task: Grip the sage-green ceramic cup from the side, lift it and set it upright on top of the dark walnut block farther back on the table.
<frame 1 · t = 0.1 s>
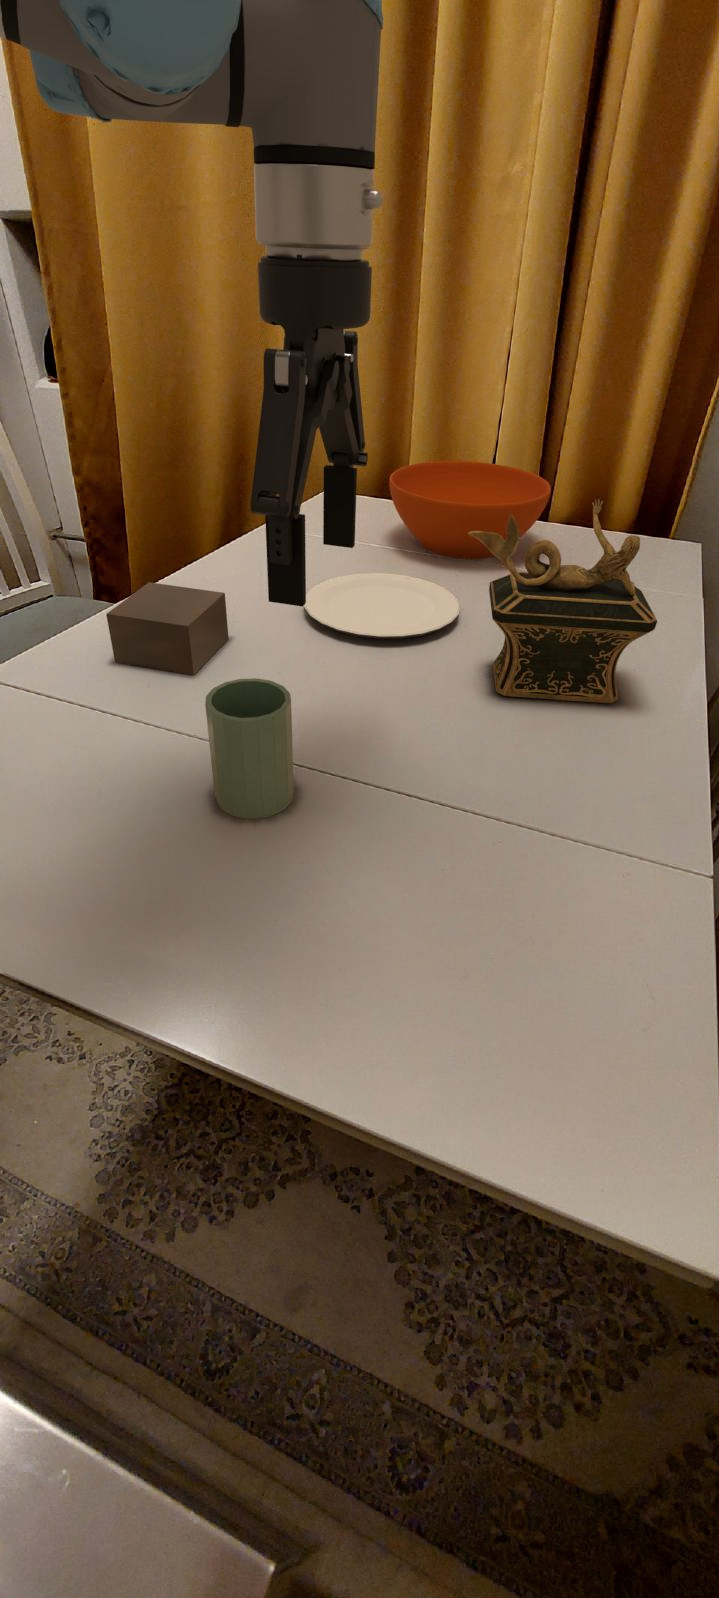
hand: (315, 571, 62), 19 cm above the table, tool pointing down, fingers open, 13 cm apart
cup: (254, 794, 69), on the table
plate: (381, 614, 102), on the table
decorative box: (538, 683, 88), on the table
bowl: (462, 545, 125), on the table
block: (173, 650, 91), on the table
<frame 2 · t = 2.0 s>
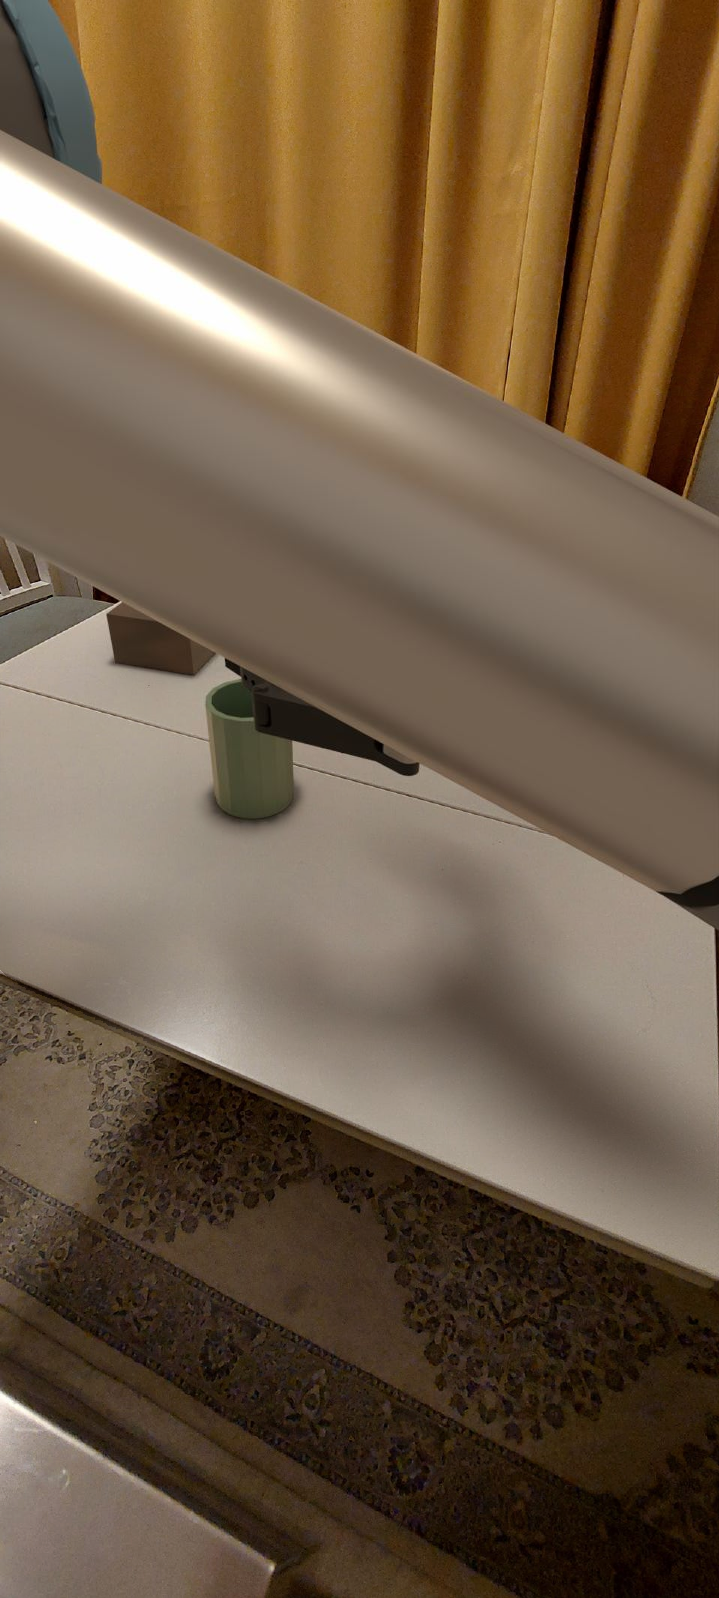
hand: (314, 617, 51), 20 cm above the table, tool horizontal, fingers open, 13 cm apart
nothing on the table moved.
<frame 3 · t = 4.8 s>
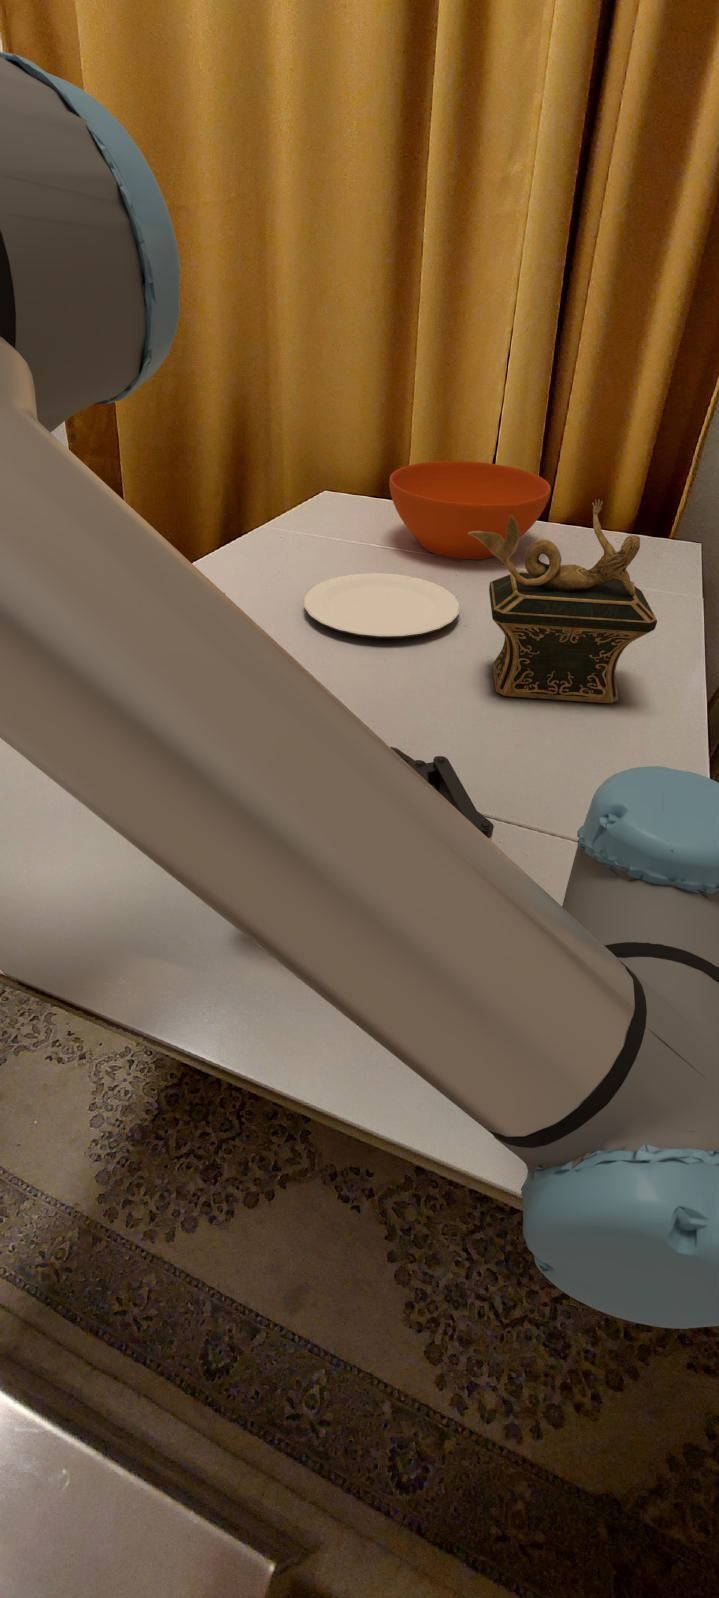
hand: (288, 768, 62), 6 cm above the table, tool horizontal, fingers open, 13 cm apart
nothing on the table moved.
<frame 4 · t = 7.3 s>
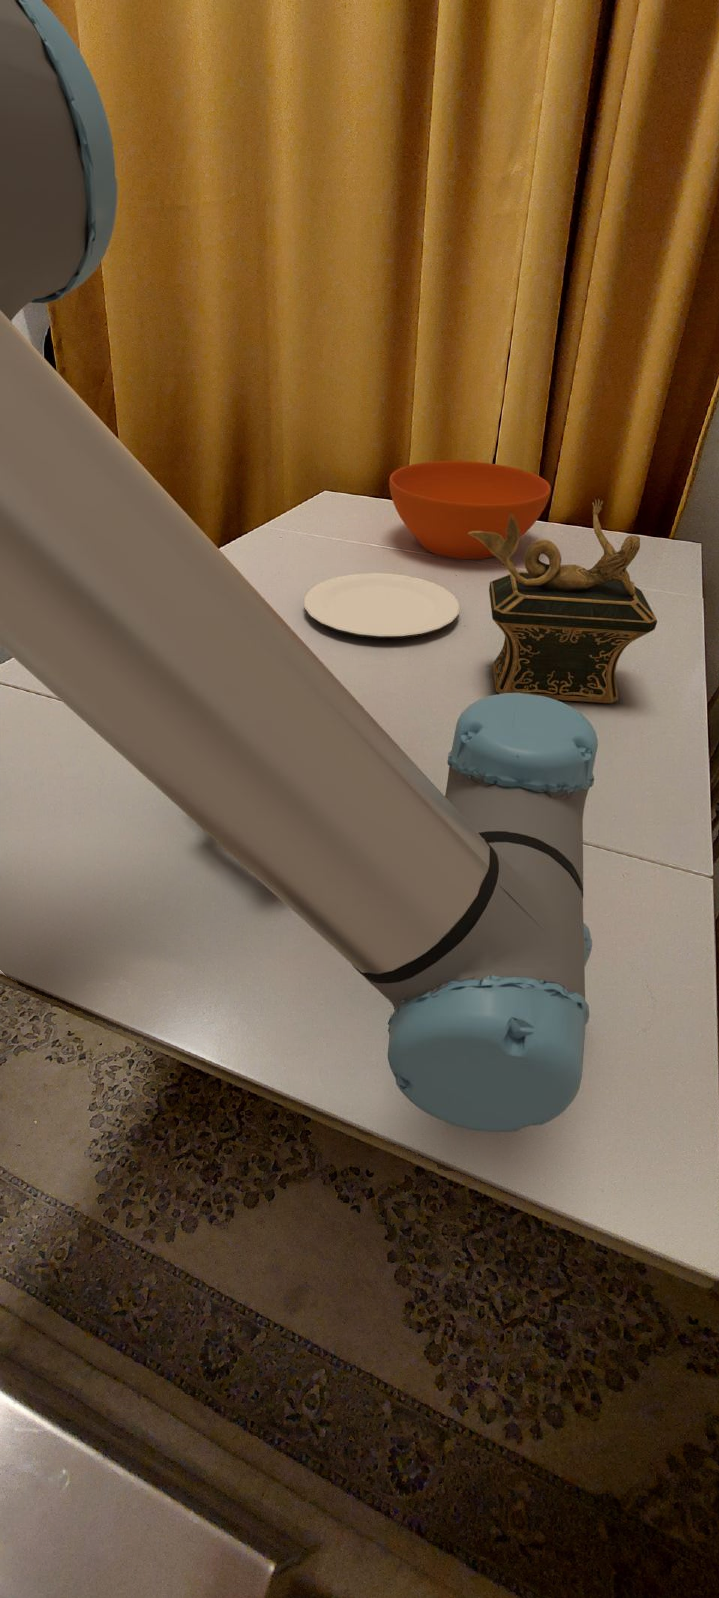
hand: (221, 715, 68), 6 cm above the table, tool horizontal, fingers closed on cup, 7 cm apart
cup: (254, 794, 69), on the table, touching gripper
everything else where it was.
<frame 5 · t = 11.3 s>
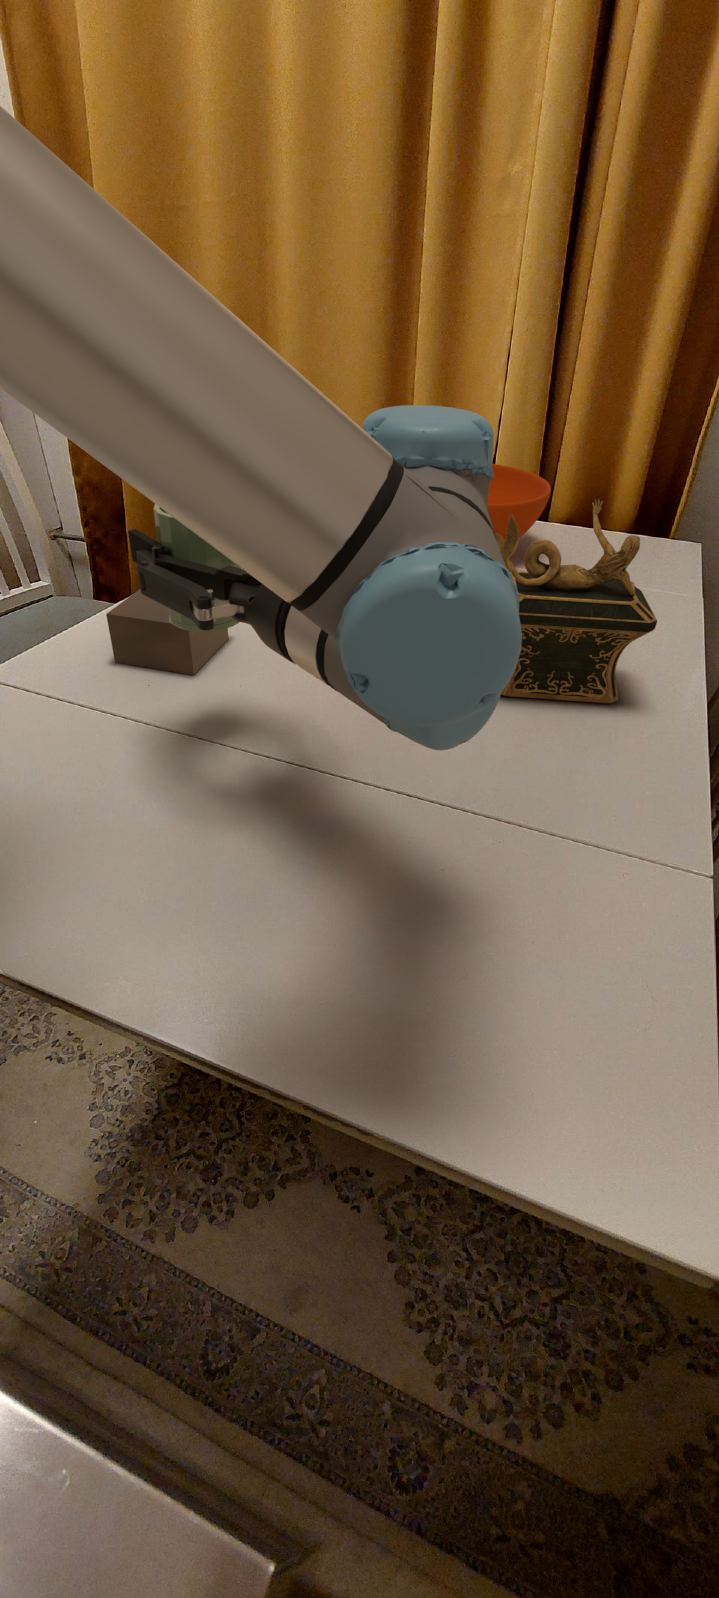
hand: (173, 536, 70), 18 cm above the table, tool horizontal, fingers closed on cup, 7 cm apart
cup: (206, 615, 71), point 12 cm above the table, touching gripper
everything else where it was.
when the fingers open (12 cm above the table, at t = 15.7 s): cup stays where it is, resting on block.
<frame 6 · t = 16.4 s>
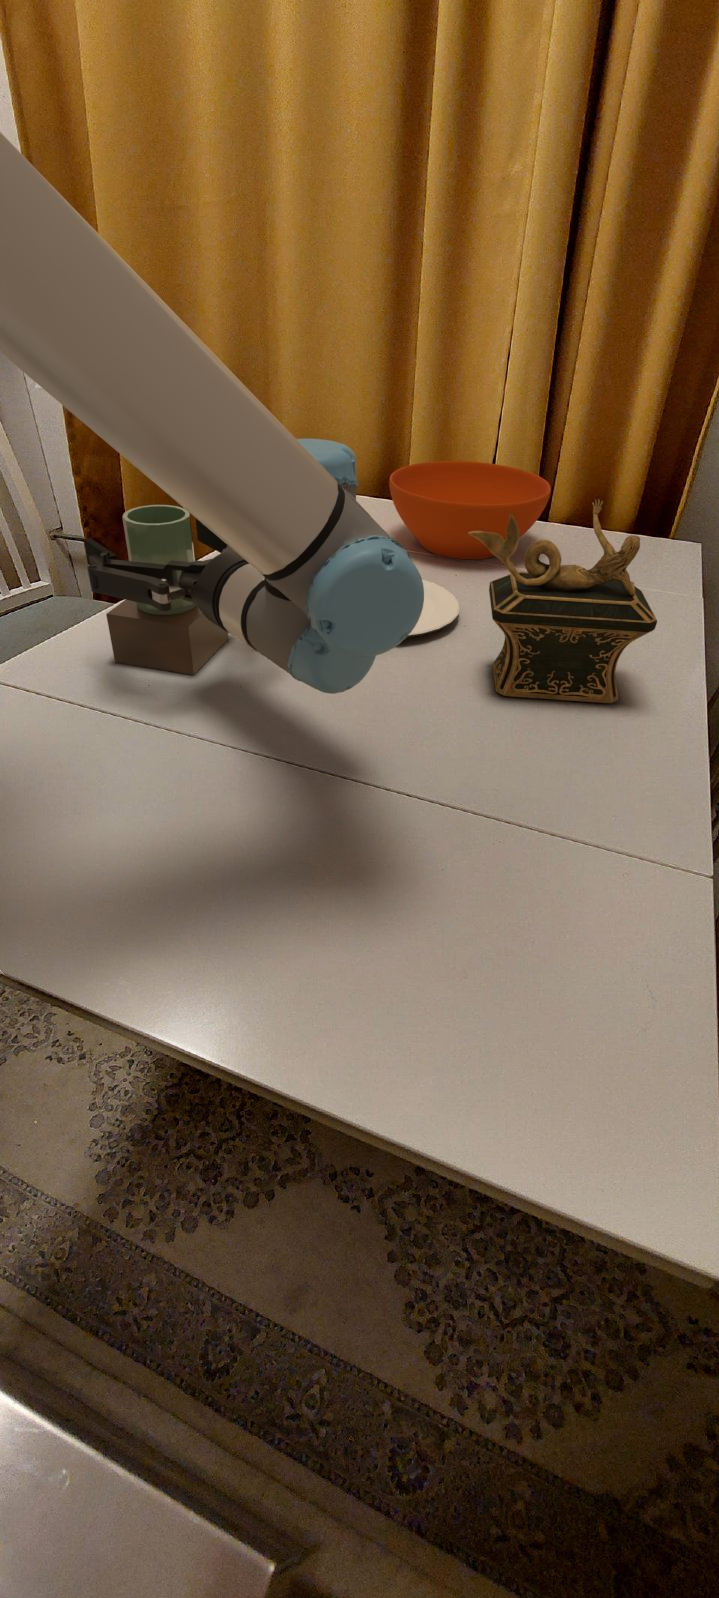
hand: (146, 538, 86), 12 cm above the table, tool horizontal, fingers open, 13 cm apart
cup: (167, 602, 88), point 6 cm above the table, touching block
everything else where it was.
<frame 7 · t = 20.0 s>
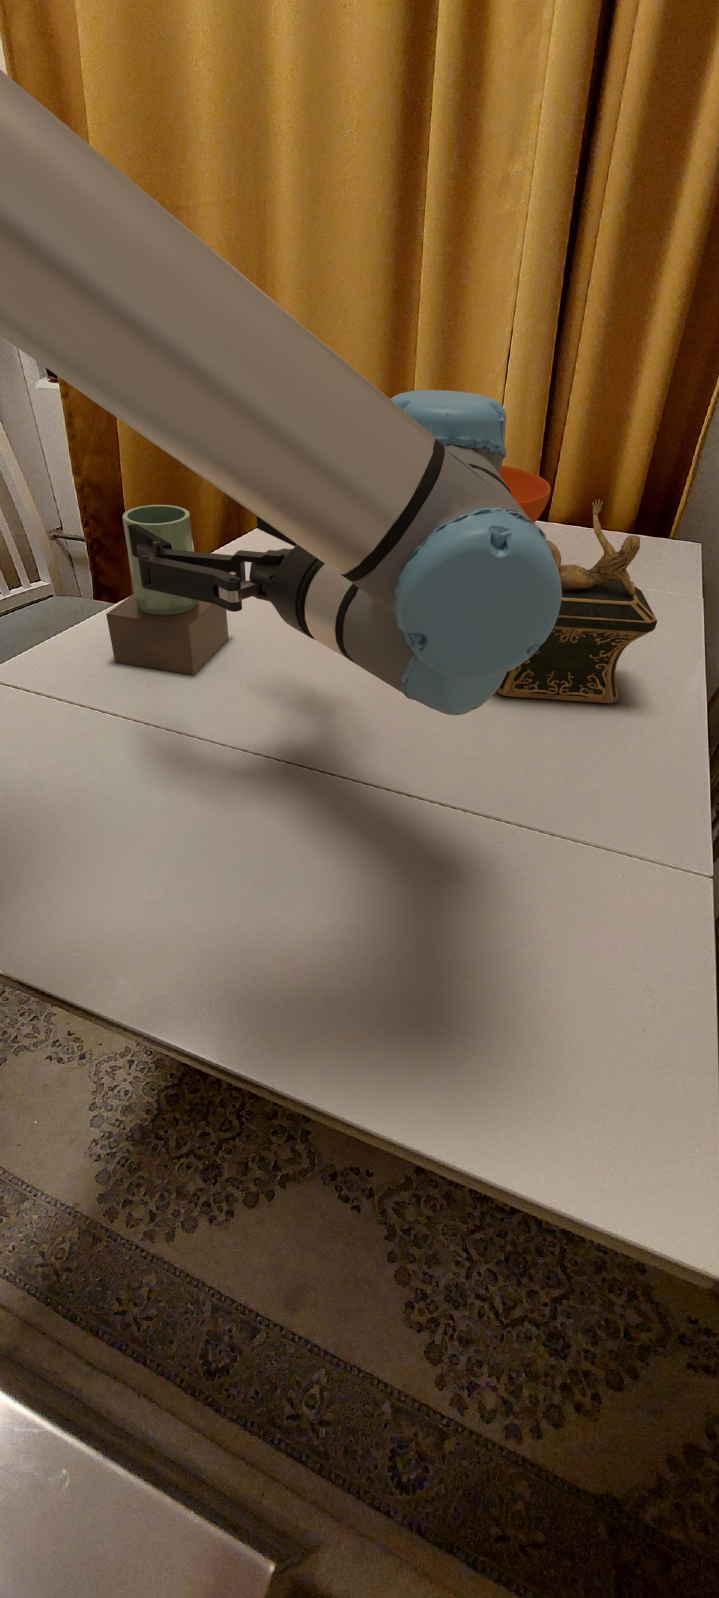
hand: (199, 525, 72), 18 cm above the table, tool horizontal, fingers open, 13 cm apart
nothing on the table moved.
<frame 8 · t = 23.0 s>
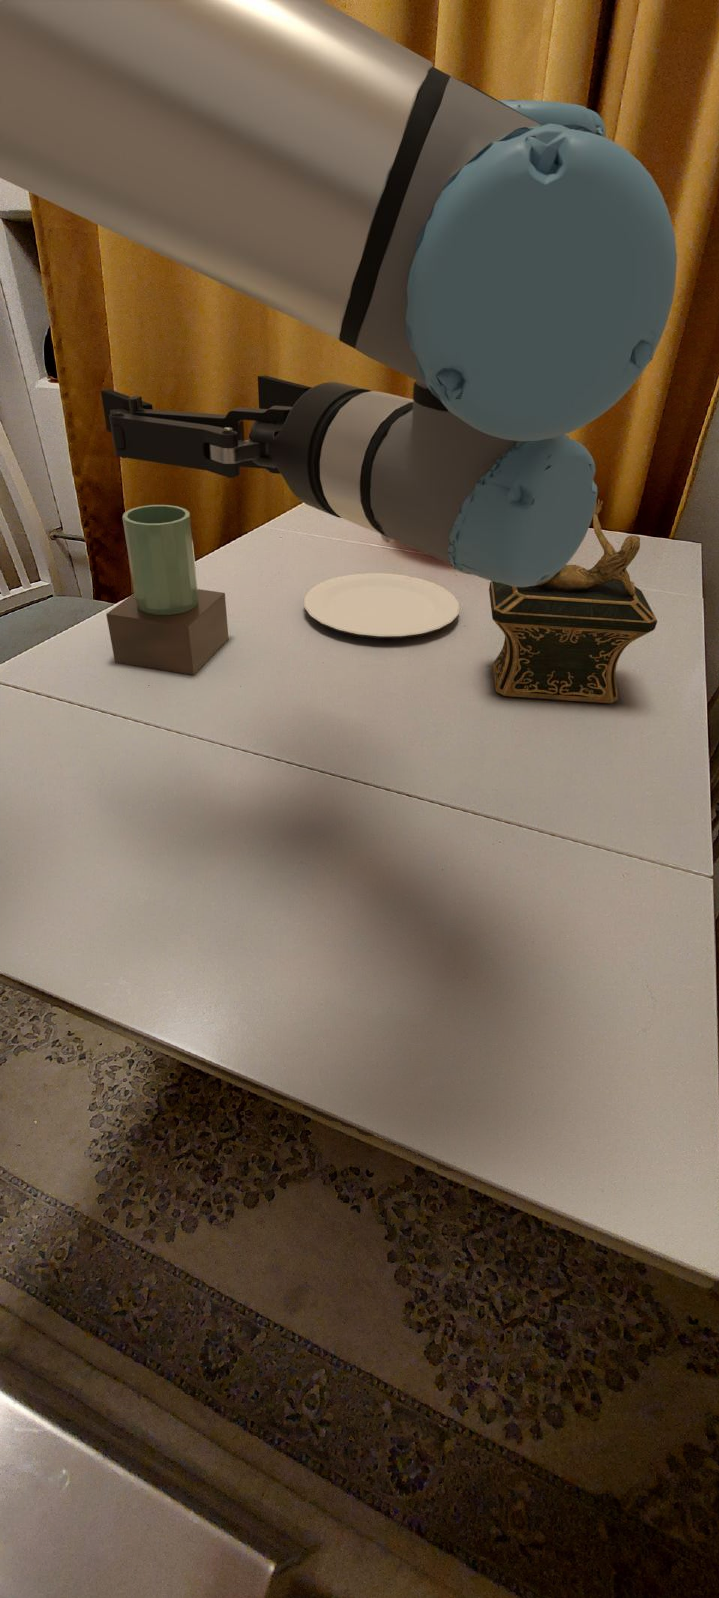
hand: (189, 401, 60), 30 cm above the table, tool horizontal, fingers open, 13 cm apart
nothing on the table moved.
at the end: cup inside the target area on the block (0.0 cm from its centre), point 6.0 cm above the block's base; cup tilted 0°; the gripper is holding nothing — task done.
